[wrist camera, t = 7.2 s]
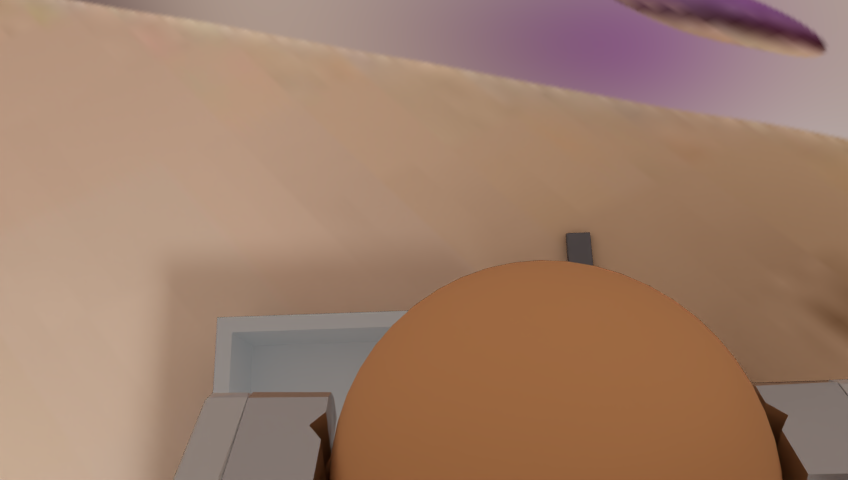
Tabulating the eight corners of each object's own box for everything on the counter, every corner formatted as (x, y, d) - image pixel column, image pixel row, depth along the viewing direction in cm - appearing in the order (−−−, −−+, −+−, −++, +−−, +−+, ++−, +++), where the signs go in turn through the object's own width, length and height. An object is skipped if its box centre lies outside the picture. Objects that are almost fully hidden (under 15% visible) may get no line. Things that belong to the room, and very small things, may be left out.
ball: (677, 306, 12) (828, 191, 7) (719, 665, 11) (943, 814, 6) (356, 314, 12) (299, 205, 7) (353, 670, 11) (279, 822, 6)
